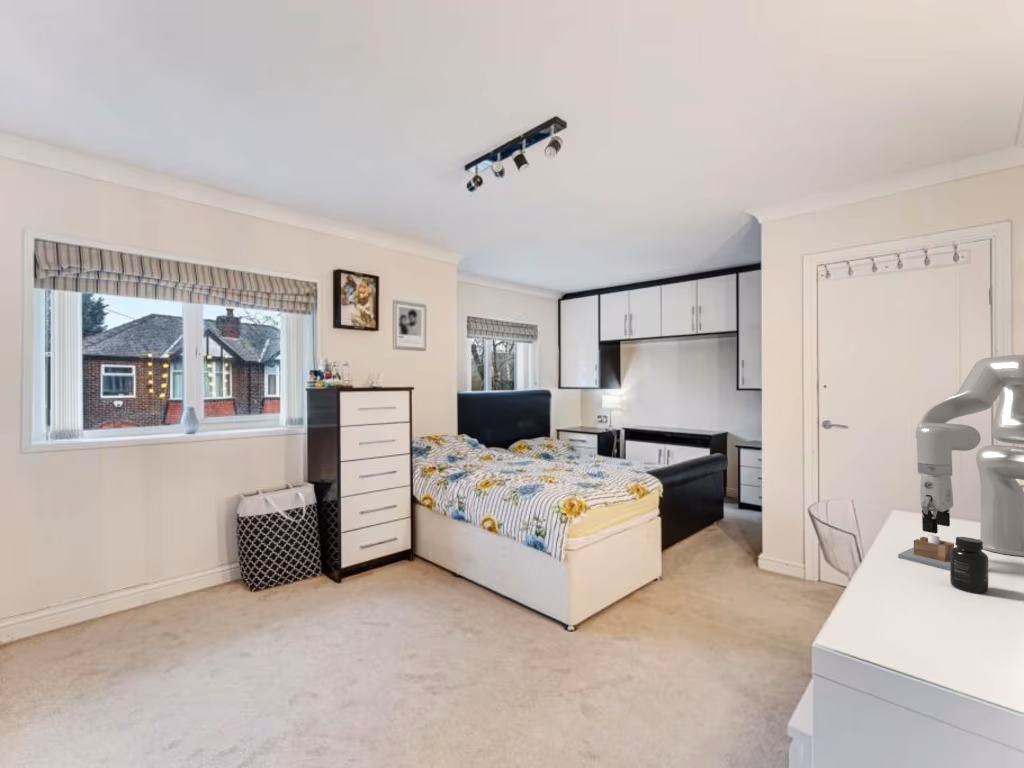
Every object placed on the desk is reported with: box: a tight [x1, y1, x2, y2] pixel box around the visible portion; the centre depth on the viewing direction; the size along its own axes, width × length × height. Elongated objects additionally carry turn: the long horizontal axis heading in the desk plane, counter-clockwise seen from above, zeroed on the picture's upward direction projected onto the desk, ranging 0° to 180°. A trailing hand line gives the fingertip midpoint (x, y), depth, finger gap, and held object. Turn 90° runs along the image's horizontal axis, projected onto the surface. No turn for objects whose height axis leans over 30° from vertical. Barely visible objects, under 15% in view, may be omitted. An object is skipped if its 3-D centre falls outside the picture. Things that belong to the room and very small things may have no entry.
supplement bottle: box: [949, 536, 989, 594], centre depth 119 cm, size 7×7×12 cm
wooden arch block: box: [913, 536, 955, 562], centre depth 139 cm, size 7×7×4 cm
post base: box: [897, 535, 950, 571], centre depth 138 cm, size 14×12×6 cm
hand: (936, 528), depth 139 cm, fingers open, 9 cm apart
